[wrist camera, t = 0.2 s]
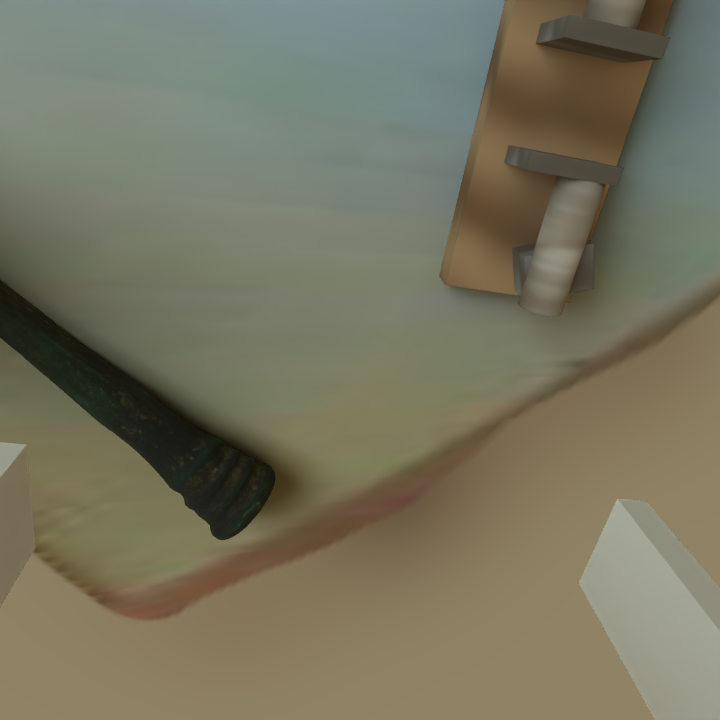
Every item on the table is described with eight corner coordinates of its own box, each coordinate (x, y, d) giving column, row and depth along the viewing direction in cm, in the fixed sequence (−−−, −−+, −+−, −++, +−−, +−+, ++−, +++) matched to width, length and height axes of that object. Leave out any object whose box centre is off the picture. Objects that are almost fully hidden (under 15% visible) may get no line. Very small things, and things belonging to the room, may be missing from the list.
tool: (285, 460, 45) (283, 514, 39) (228, 504, 47) (217, 563, 41) (-16, 193, 35) (-82, 212, 29) (-79, 260, 36) (-155, 291, 30)
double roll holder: (543, -157, 30) (595, -213, 24) (693, -115, 31) (776, -159, 26) (439, 276, 39) (460, 305, 34) (557, 293, 41) (595, 324, 35)
